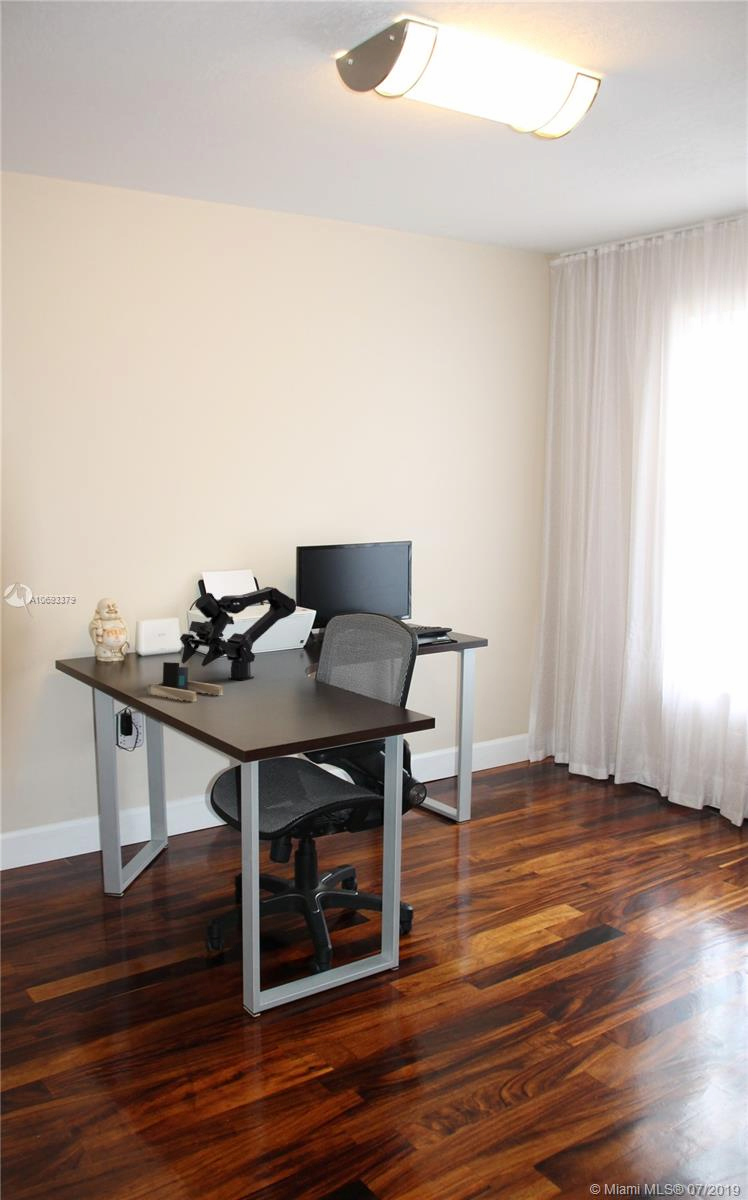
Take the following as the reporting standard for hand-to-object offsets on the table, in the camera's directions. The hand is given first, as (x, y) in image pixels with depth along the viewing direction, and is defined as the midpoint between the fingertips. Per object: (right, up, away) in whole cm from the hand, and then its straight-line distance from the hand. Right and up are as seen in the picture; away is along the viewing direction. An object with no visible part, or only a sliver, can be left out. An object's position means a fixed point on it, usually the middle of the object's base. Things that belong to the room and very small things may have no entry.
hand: (192, 664), depth 320 cm
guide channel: (-1, -9, -8) cm, 13 cm away
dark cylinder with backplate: (-4, -9, -6) cm, 11 cm away
